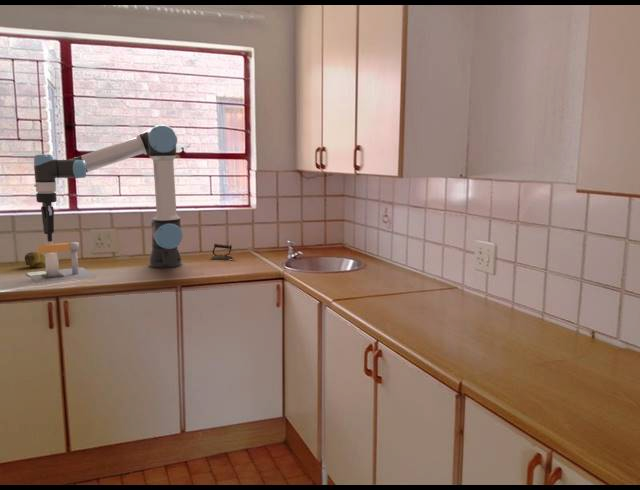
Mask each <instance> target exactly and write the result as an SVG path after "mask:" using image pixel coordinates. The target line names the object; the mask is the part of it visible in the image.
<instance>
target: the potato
mask: <svg viewBox="0 0 640 490" xmlns="http://www.w3.org/2000/svg"><path fill="white" fill-rule="evenodd" d="M24 262H25V265H26V266H29V267H31V268H39V269H40V268H41V269H42V268H43V269H44V268H46V264H45V254H43V253H38V252H37V251H33V252H32V251H31V252H28V253H26V254H25V255H24Z"/></svg>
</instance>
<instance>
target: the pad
mask: <svg viewBox="0 0 640 490" xmlns="http://www.w3.org/2000/svg"><path fill="white" fill-rule="evenodd" d="M45 271H46V270H41V271H31V272H30V271H29V272H26V273H27V274H26V275H27V276H28V277H29V278H30V277H32V276H42V274H46V272H45Z"/></svg>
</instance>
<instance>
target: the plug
mask: <svg viewBox="0 0 640 490" xmlns="http://www.w3.org/2000/svg"><path fill="white" fill-rule="evenodd" d="M44 255H45V264H46V267H45V271H46V276H57V275H59V270H60V269H59V255H58V252H48V253H44Z"/></svg>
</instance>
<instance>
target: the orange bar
mask: <svg viewBox="0 0 640 490" xmlns="http://www.w3.org/2000/svg"><path fill="white" fill-rule="evenodd" d="M36 250H37V251H36V252H38V253H40V254H46V253H58V252H59V253H60V252H69V251H70V252H71V251H76V250H77V251H80V243H79V242H77V241H72V242H66V243H65V242H64V243H53V244H50V245H46V244H39V245H36Z"/></svg>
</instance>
